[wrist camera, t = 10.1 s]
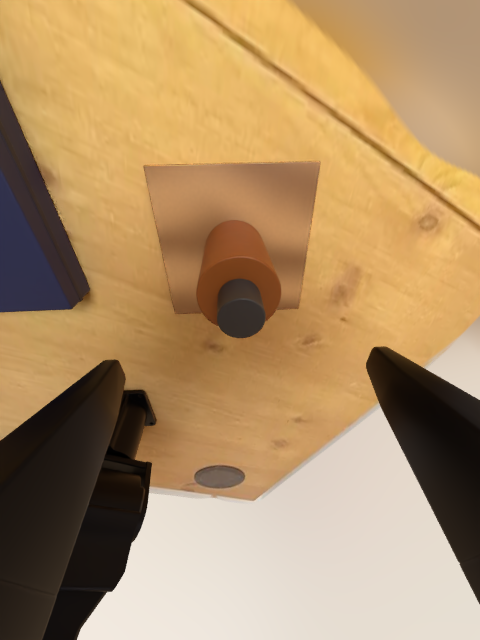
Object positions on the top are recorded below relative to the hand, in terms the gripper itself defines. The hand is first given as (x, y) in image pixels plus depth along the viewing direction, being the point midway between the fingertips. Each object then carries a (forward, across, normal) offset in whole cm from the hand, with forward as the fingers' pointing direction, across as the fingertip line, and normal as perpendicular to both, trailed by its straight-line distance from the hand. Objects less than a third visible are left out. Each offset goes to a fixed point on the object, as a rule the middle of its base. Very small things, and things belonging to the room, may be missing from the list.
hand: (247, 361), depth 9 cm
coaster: (+12, 0, 0) cm, 12 cm away
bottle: (+12, 0, 0) cm, 12 cm away
